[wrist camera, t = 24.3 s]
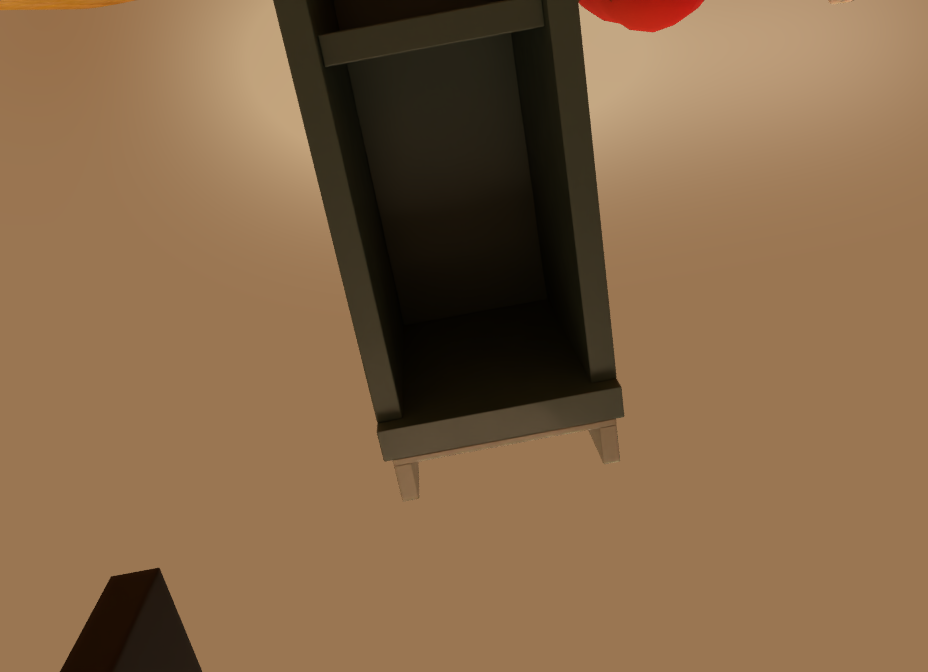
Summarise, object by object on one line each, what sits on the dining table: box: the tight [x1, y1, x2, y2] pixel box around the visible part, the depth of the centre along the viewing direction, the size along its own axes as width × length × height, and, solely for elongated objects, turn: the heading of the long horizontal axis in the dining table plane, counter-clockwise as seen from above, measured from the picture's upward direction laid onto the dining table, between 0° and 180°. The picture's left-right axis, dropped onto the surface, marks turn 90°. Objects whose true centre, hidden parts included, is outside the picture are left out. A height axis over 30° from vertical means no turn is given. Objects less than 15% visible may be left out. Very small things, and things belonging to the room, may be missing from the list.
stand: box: [273, 0, 624, 501], centre depth 46 cm, size 18×14×33 cm
